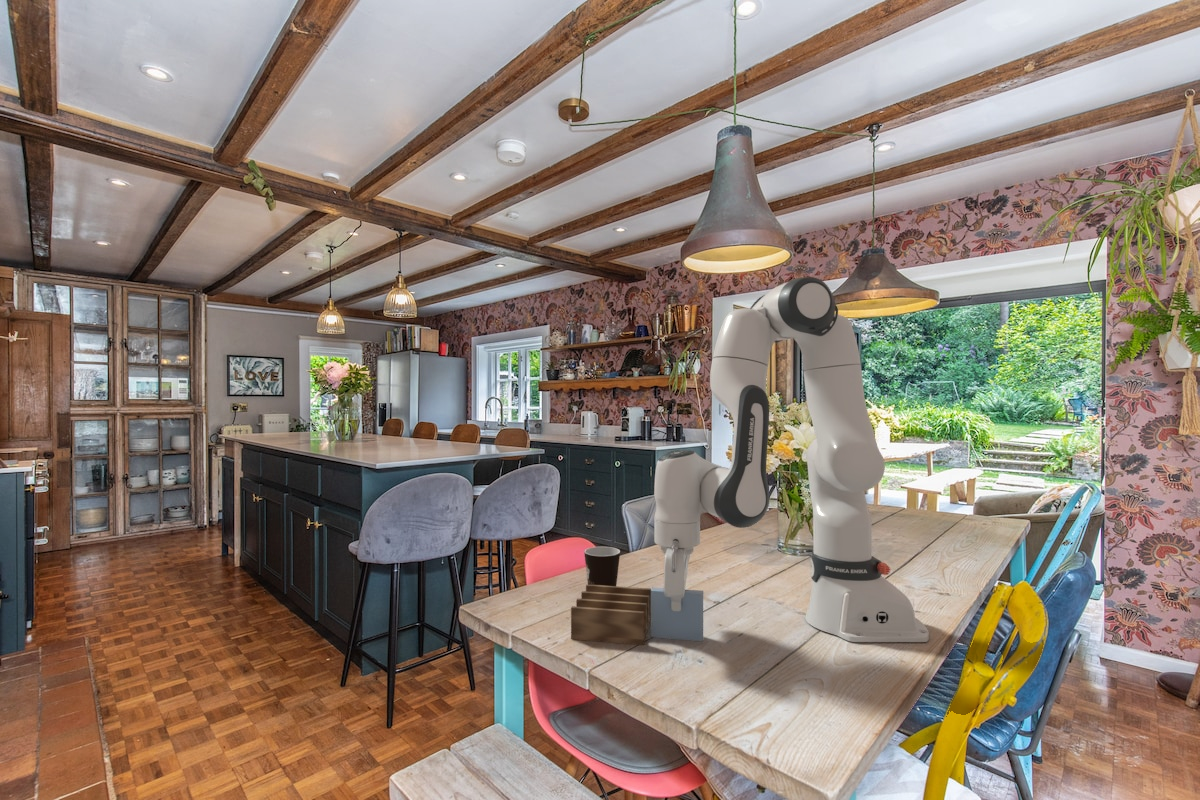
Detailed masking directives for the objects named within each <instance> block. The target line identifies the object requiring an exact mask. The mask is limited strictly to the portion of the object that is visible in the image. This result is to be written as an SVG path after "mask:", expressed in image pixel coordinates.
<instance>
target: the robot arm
mask: <svg viewBox="0 0 1200 800" xmlns="http://www.w3.org/2000/svg"><path fill="white" fill-rule="evenodd" d="M792 339H794V341H795V342H796V343H797V344H798V347H799V349H800V352H801V355H802V356H801V357H802V371H803V378H804V379H803V380H804V386H805V387H804V389H805V399H806V407H807V410H808V413H809V415H810V419H811V422H812V425H813V430H814V434H815V435H814V436H815V439H813V440H812V441H811V442H810V443H809V445H808V447H807V449H806V453H805V458H806V463H807V474H808V484H809V485H808V486H809V493H810V499H811V500H810V501H811V505H812V521H813V524H812V525H813V526H812V527H813V529H812V531H813V534H812V536H813V537H812V538H813V540H812V541H813V545H812V546H813V549H812V551H811V555H810V577H811V580H812V581H811V591H810V596H809V600H808V601H809V602H808V605H807V610H806V614H805V616H804V617H805V618H804V619H805V621H806V622H807V624H809V625H811V626H812V627H814V628H815V629H817V630H820V631H822V632H826V633H829V634H832V635H835V636H837V637H840V638H841V639H843V640H845V641H847V642H852V643H926V642H927V643H928V641H929V639H930V634H929V633H930V632H929V630H928V627H927V626H926V625H925V624H924V623H923V622H922V621H920V620H919V619H918V618H917V617H916V614H915V610H914V606H913V604H912V602H911V600H910V599H909V598H908V597H907V595H906V594H904V593H903V592H902V591H901V590H900V589H899V588H897V587H896V586H895V585H894V584H893V583H891V582H890V581H889V580H888V579H886V578H885V577H884V576H888V575H889V573H890V574H891V567H890V566H889V565H888V564H887V563H885V562H883V561H881V560H880V559H878V558H877V557H875V556H874V555H873V553H872V551H873V550H872V543H873V542H872V540H873V539H872V537H873V536H872V515H871V514H870V510H869V507H868V503H867V497H866V494H865V491H868V490H872V489H873V488H875V487H876V486H877V485H878V484H879V483H880V481H881V480H882V478H883V477H884V474H885V469H886V463H885V460H884V457H883V454H882V453H881V451H880V449H879V447H878V442H877V440H876V436H875V432H874V428H873V425H872V421H871V418H870V414H869V412H868V407H867V404H866V398H865V391H864V381H863V373H862V364H861V356H860V351H859V346H858V343H857V342H858V341H857V338H856V334H855V331H854V328H853V325H852V323H851V321H850V320H849V319H848V317H845V316H844V315H841V314H839V308H838V306H837V304H836V301H835V298H834V294H833V293H832V290H831V289H830V287H829V286H828V284H826V283H825V282H824V281H823V280H821V279H820V278H817V277H812V276H802V277H797V278H794V279H791V280H789V281H788V282H784V283H781V284H779V285H777V286H776V287H774V288H772V289H771V290H769V291H768V292H767V293H766V294H763V295H762V296H760V297H759V298H757V299H756V301H755V302H754V303H753V304H752V306H750V308H748V307H746V308H745V307H744V308H737V309H734V310H732V311H730V312H729V313H727V314H726V316H725V317H724V319H723V321H722V324H721V327H720V330H719V332H718V335H717V338H716V342H715V345H714V350H713V355H712V359H711V360H712V361H711V365H710V373H709V386H710V390H711V393H712V395H713V396H714V397H715V399H716V400H717V401H718V402H719V403H720V404H721V405H723V406H724V407H725V408H726V409H727V410H728V412H729V414H730V415H731V417H732V421H733V436H732V437H733V438H732V439H733V440H732V449H731V450H732V451H731V453H732V454H731V463H730V466H729V468H728V467H725V466H722V465H718V464H715V463H713V462H711V461H709V460H707V459H706V458H703V457H701V456H700V455H699V454H697V453H696V451H694V450H691V449H681V450H680V449H678V450H673V451H669V452H665V453H664V454H662V455H661V456H659V458H658V460H657V462H656V466H655V474H654V486H653V488H654V489H653V490H654V491H653V495H654V502H655V504H656V507H655V513H654V517H653V520H654V523H653V525H654V528H653V529H654V535H653V537H654V540H653V541H654V543H655V544H656V545H658V546H659V547H660V551H661V552H662V554H664V563H663V564H664V565H663V567H664V568H663V588H664V594H665V596H666V597H671V608H672V610H673V611H680V610H681V598H683V597H684V594H685V590H686V584H687V578H688V570H689V564H690V557H691V554H693V553H694V548H696V547H698V546H699V545H700V544H701V515H702V514H705V513H706V514H707V513H708V514H709V515H712V516H714V517H716V518H719V519H721V520H722V521H724V522H726V523H727V524H729V525H730V526H732V527H735V528H739V529H745V528H749V527H750V528H751V527H752V526H754V525H756V524H757V523H759V521H761V520H762V519H763V518H764V516H765V514H766V512H767V510H768V508H769V506H770V499H771V498H770V488H769V482H768V477H767V457H768V445H769V443H768V441H769V430H770V429H769V428H770V427H769V426H770V402H769V398H768V396H767V376H768V369H769V361H770V354H771V350H772V348H773V346H774V343H780V342H782V341H789V340H792ZM883 575H884V576H883Z"/></svg>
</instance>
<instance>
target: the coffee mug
mask: <svg viewBox="0 0 1200 800" xmlns="http://www.w3.org/2000/svg"><path fill="white" fill-rule="evenodd" d="M583 551H584V562H585V568H586V570H585V571H586V579H587V584H588V585H604V586H617V583H618V573H619V565H620V556H621V550H620V549H618V548H616V547H612V546H593V547H588V548H586V549H585V550H583Z"/></svg>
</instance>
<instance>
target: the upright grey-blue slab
mask: <svg viewBox="0 0 1200 800" xmlns="http://www.w3.org/2000/svg"><path fill="white" fill-rule="evenodd" d="M650 589H651V619H650V637H651V638H658V639H659V638H660V639H670V640H671V639H673V640H681V641H682V640H683V641H684V640H685V641H695V642H696V641H697V642H703V641H704V590H699V589H697V590H696V589H695V590H694V589H685V594H684V597H683V598H681V610H680V611H673V610H672V608H671V597H666V596H665V594H664V587H651V588H650Z"/></svg>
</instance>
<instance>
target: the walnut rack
mask: <svg viewBox="0 0 1200 800" xmlns="http://www.w3.org/2000/svg"><path fill="white" fill-rule="evenodd" d="M651 589H652V588H649V587H647V588H645V587H631V586H630V587H629V586H618V585H616V586H604V585H588V583H587V584H586V585H585V591H584V590H582V591H581V593H580V594H581V598H576V601H575V602H576V606H571V607H570V639H571V640H577V639H578V640H580V641H589V640H590V641H591V642H603V643H604V642H605V643H613V644H614V643H616V644H625V645H626V644H627V645H638V646H644V645H645V642H646V641H645V640H646V637H647V633H648V630H649V626H650V624H651Z"/></svg>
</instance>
